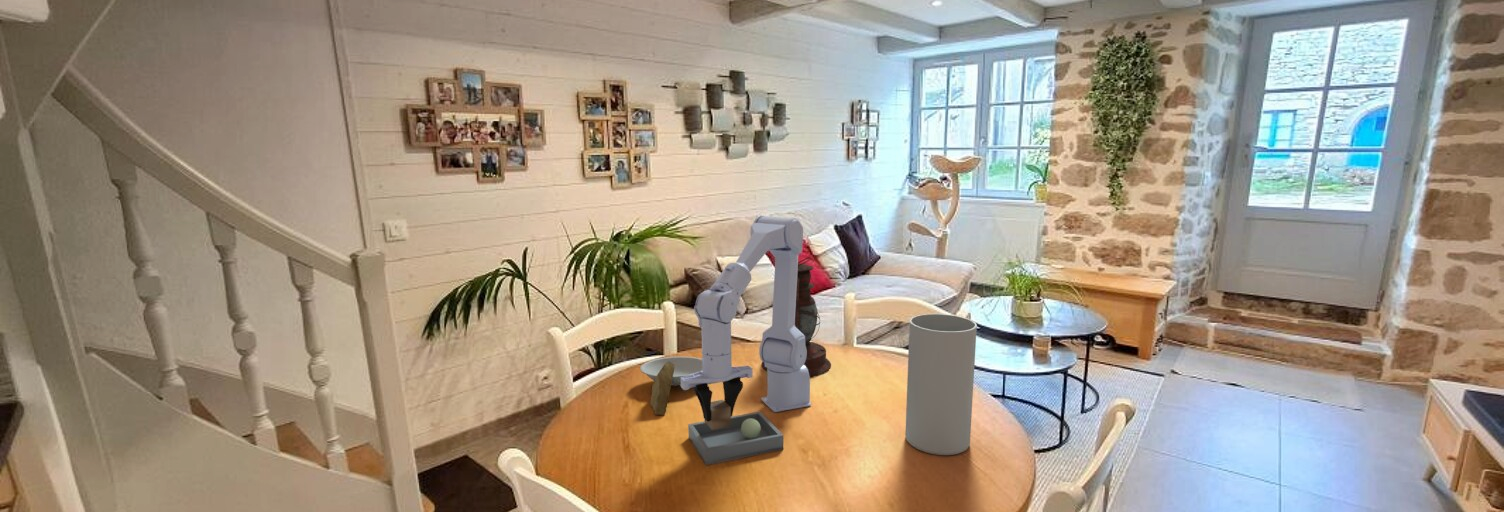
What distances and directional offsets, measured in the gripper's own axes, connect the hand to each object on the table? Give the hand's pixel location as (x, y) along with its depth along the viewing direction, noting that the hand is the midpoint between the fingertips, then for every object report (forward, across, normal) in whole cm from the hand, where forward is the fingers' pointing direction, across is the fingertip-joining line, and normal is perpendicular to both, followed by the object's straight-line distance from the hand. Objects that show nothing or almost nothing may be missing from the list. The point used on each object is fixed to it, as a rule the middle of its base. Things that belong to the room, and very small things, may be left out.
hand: (717, 416), depth 122 cm
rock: (+7, +5, -24) cm, 26 cm away
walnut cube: (+2, 0, 0) cm, 2 cm away
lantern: (+6, -37, -33) cm, 50 cm away
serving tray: (+6, -4, 0) cm, 7 cm away
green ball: (+6, -7, 0) cm, 9 cm away
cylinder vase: (+6, -40, +18) cm, 45 cm away
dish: (+7, -3, -35) cm, 36 cm away
